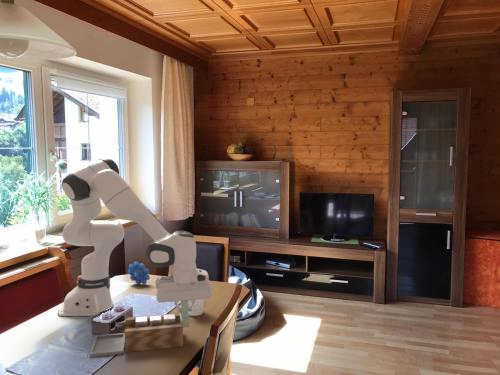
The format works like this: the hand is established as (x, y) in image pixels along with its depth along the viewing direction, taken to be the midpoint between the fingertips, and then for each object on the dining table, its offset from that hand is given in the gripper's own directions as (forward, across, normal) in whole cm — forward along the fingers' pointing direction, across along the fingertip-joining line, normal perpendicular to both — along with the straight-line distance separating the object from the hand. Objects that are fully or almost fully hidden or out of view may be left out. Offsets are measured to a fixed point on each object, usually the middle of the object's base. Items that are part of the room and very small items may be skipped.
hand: (184, 311), depth 155 cm
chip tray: (+10, -27, 0) cm, 29 cm away
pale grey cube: (+6, -16, 0) cm, 17 cm away
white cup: (+11, +6, +23) cm, 26 cm away
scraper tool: (+5, 0, 0) cm, 5 cm away
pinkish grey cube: (+6, -6, 0) cm, 8 cm away
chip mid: (+6, -11, 0) cm, 12 cm away
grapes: (+11, -19, +65) cm, 68 cm away
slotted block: (+10, -11, 0) cm, 15 cm away
